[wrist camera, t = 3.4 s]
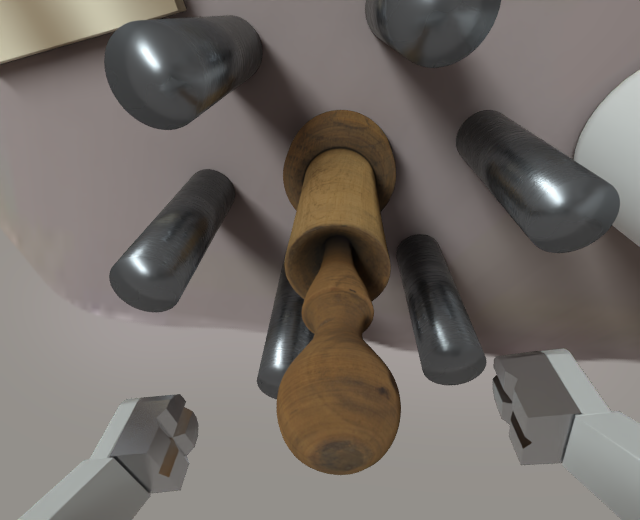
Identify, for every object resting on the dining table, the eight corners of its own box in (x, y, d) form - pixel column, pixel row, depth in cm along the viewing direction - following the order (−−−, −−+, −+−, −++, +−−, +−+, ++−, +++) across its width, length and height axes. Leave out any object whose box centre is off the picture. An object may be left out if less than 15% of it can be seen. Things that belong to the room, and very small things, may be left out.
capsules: (522, -68, 16) (709, -147, 8) (501, 257, 26) (577, 373, 18) (122, 44, 19) (-37, 70, 11) (236, 296, 29) (195, 410, 21)
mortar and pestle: (284, 107, 21) (151, 348, 6) (398, 110, 21) (548, 364, 6) (289, 212, 25) (213, 518, 10) (385, 215, 24) (456, 531, 10)
